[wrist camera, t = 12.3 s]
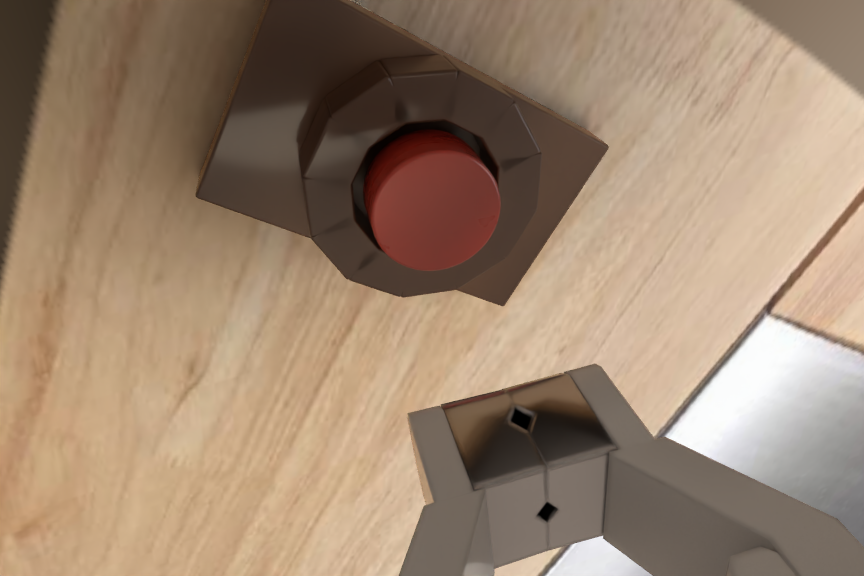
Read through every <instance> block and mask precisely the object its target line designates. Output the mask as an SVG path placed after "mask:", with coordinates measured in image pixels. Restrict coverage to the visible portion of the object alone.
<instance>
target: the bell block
mask: <svg viewBox="0 0 864 576" xmlns="http://www.w3.org/2000/svg"><path fill="white" fill-rule="evenodd" d="M419 130H440V131H444V132H448V133H451V134H453V135H455V136H457V137H459V138H461V139H462V140H463V141H465V142H466V143H467V144H468V145H469V146H470V147H471V148H472V149H473V150H474V151H475V153H476V154H477V155H478V156H479V158H480V159H481V160H482V161H483V163H484V164H485V165H486V167H487V168H488V169H489V170H490V172H491V173H492V175H493V176H494V178H495V180H496V182H497V185H498V188H499V192H500V201H501V206H500V214H499V218H498V222H497V225H496V227H495V230H494V232H493V234H492V235H491V237H490V238H489V240H488V241H487V243H486V244H485V245H484V246H483V247H482V248H481V249H480V250H479V251H478V252H477V253H476V254H475V255H473V256H472V257H471V258H469V259H468V260H466V261H464V262H463V263H461V264H458V265H456V266H454V267H450V268H447V269H443V270H436V271H422V270H415V269H412V268H408V267H406V266H403V265H401V264H399V263H397V262H396V261H394V260H393V259H391V258H390V257H389V256H388V255H387V254H386V253H385V252H384V251H383V250H382V249H381V247H380V246H379V244H378V243H377V241H376V239H375V237H374V233H373V230H372V227H371V224H370V221H369V218H368V215H367V212H366V209H365V205H364V200H363V185H364V180H365V176H366V173H367V171H368V168H369V166H370V164H371V163H372V161H373V159H374V158H375V157H376V155H377V154H378V153H379V152H380V151H381V150H382V149H383V148H384V147H385V146H386V145H387V144H389V143H390V142H391V141H393V140H395V139H396V138H398V137H400V136H402V135H404V134H407V133H410V132H414V131H419ZM608 148H609V147H608V145H607V144H606V143H604V142H603V141H602V140H600V139H599V138H598V137H596V136H595V135H594V134H592V133H591V132H590V131H588V130H586V129H585V128H583V127H581V126H579V125H577V124H575V123H574V122H572V121H570V120H568V119H566V118H565V117H563V116H561V115H559V114H557V113H555V112H554V111H552V110H550V109H548V108H546V107H544V106H543V105H541V104H539V103H537V102H535V101H533V100H532V99H530V98H528V97H526V96H524V95H522V94H521V93H519V92H517V91H515V90H513V89H511V88H510V87H508V86H506V85H504V84H502V83H500V82H499V81H497V80H495V79H493V78H491V77H489V76H488V75H486V74H484V73H482V72H480V71H478V70H477V69H475V68H473V67H471V66H469V65H468V64H466V63H464V62H462V61H460V60H458V59H457V58H455V57H453V56H451V55H449V54H447V53H446V52H444V51H442V50H440V49H438V48H436V47H435V46H433V45H431V44H429V43H427V42H425V41H424V40H422V39H420V38H418V37H416V36H414V35H413V34H411V33H409V32H407V31H405V30H403V29H402V28H400V27H398V26H396V25H394V24H392V23H391V22H389V21H387V20H385V19H383V18H381V17H380V16H378V15H376V14H374V13H372V12H371V11H369V10H367V9H365V8H363V7H361V6H360V5H358V4H356V3H354V2H352V1H350V0H266V2H265V4H264V7H263V10H262V12H261V15H260V17H259V20H258V23H257V25H256V28H255V31H254V33H253V36H252V38H251V41H250V44H249V46H248V49H247V52H246V54H245V57H244V59H243V62H242V65H241V67H240V70H239V73H238V75H237V78H236V80H235V83H234V86H233V88H232V91H231V94H230V96H229V99H228V101H227V104H226V107H225V109H224V112H223V115H222V117H221V120H220V122H219V125H218V128H217V130H216V133H215V136H214V138H213V141H212V143H211V146H210V149H209V151H208V154H207V157H206V159H205V162H204V164H203V167H202V170H201V172H200V175H199V179H198V184H197V189H196V197H197V198H199V199H202V200H204V201H207V202H210V203H213V204H216V205H219V206H221V207H224V208H227V209H230V210H233V211H235V212H238V213H241V214H244V215H247V216H250V217H252V218H255V219H258V220H261V221H264V222H266V223H269V224H272V225H275V226H278V227H281V228H283V229H286V230H289V231H292V232H295V233H297V234H300V235H303V236H306V237H309V238H311V239H312V240H313V241H314V242H315V243H316V245H317V246H318V247H319V248H320V249H321V250H322V251H323V253H324V254H325V255H326V256H327V257H328V258H329V259H330V261H331V262H332V263H333V264H334V265H335V266H336V267H337V269H338V270H339V271H340V272H341V273H342V274H343V275H344V277H345V278H346V279H349V280H351V281H353V282H356V283H359V284H362V285H365V286H368V287H371V288H374V289H377V290H380V291H383V292H386V293H389V294H392V295H395V296H398V297H400V296H401V297H409V296H416V295H423V294H430V293H437V292H444V291H451V290H458V291H461V292H464V293H467V294H469V295H472V296H475V297H478V298H481V299H483V300H486V301H489V302H492V303H495V304H498V305H500V306H504V305H505V304H506V302H507V301H508V299H509V298H510V296H511V295H512V293H513V292H514V290H515V289H516V287H517V286H518V284H519V283H520V281H521V280H522V278H523V277H524V275H525V273H526V272H527V270H528V269H529V267H530V266H531V264H532V263H533V261H534V260H535V258H536V257H537V255H538V254H539V252H540V251H541V249H542V248H543V246H544V245H545V243H546V242H547V240H548V239H549V237H550V236H551V234H552V233H553V231H554V230H555V228H556V227H557V225H558V224H559V222H560V221H561V219H562V218H563V216H564V215H565V213H566V212H567V210H568V209H569V207H570V206H571V204H572V203H573V201H574V200H575V198H576V197H577V195H578V194H579V192H580V191H581V189H582V188H583V186H584V185H585V183H586V181H587V180H588V178H589V177H590V175H591V174H592V172H593V171H594V169H595V168H596V166H597V165H598V163H599V162H600V160H601V159H602V157H603V156H604V154H605V153H606V151H607V150H608Z"/></svg>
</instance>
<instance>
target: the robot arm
mask: <svg viewBox="0 0 864 576" xmlns="http://www.w3.org/2000/svg"><path fill="white" fill-rule="evenodd" d="M407 418H408V424H409V429H410V434H411V439H412V444H413V450H414V455H415V460H416V465H417V469H418V474H419V478H420V483H421V487H422V491H423V496H424V499H425V503H426V505H425V506H424V507H423V510H422V513H421V515H420V518H419V521H418V524H417V527H416V529H415V532H414V535H413V538H412V540H411V543H410V546H409V549H408V551H407V554H406V557H405V560H404V562H403V565H402V568H401V571H400V573H399V576H494V573H495V572H494V569H495V568H498V567H501V566H504V565H507V564H510V563H513V562H516V561H519V560H522V559H524V558H527V557H530V556H533V555H536V554H539V553H542V552H545V551H548V550H552V549H556V548H559V547H563V546H566V545H570V544H574V543H577V542H581V541H585V540H588V539H592V538H595V537H599V536H603V539H605V540H606V541H607V542H609V543H610V544H611V545H613V546H614V547H615V548H617V549H618V550H619V551H621V552H622V553H623V554H625V555H626V556H627V557H629V558H630V559H631V560H633V561H634V562H635V563H637V564H638V565H639V566H641V567H642V568H644V569H645V570H646V571H648V572H649V573H650V574H652V575H653V576H864V547H863V546H862V545H861V544H860V543H859V541H858V540H857V539H856V538H855V537H854V536H853V535H852V534H851V533H850V532H849V531H848V530H847V529H846V527H845V526H844V525H843V524H842V523H841V522H840V521H839V520H838V519H836V518H834V517H832V516H830V515H828V514H826V513H824V512H822V511H820V510H818V509H815V508H813V507H811V506H809V505H807V504H805V503H803V502H801V501H799V500H797V499H794V498H792V497H790V496H788V495H786V494H784V493H782V492H780V491H778V490H776V489H773V488H771V487H769V486H767V485H765V484H763V483H761V482H759V481H757V480H755V479H752V478H750V477H748V476H746V475H744V474H742V473H740V472H738V471H736V470H734V469H731V468H729V467H727V466H725V465H723V464H721V463H719V462H717V461H715V460H713V459H710V458H708V457H706V456H704V455H702V454H700V453H698V452H696V451H694V450H692V449H689V448H687V447H685V446H683V445H681V444H679V443H677V442H675V441H673V440H671V439H668V438H666V437H661V438H657V439H655V438H654V437H653V436H652V434H651V433H650V432H649V430H648V429H647V428H646V426H645V425H644V424H643V422H642V421H641V420H640V418H639V417H638V416H637V414H636V413H635V411H634V410H633V409H632V407H631V406H630V405H629V403H628V402H627V401H626V399H625V398H624V397H623V395H622V394H621V393H620V391H619V390H618V389H617V387H616V386H615V385H614V383H613V382H612V381H611V379H610V378H609V376H608V375H607V374H606V372H605V371H604V370H603V368H602V367H601V366H599V365H597V364H592V365H588V366H584V367H581V368H577V369H573V370H570V371H566V372H564V373H559V374H555V375H552V376H548V377H544V378H541V379H537V380H534V381H530V382H526V383H523V384H519V385H516V386H512V387H508V388H505V389H502V390H499V391H495V392H491V393H487V394H483V395H478V396H474V397H470V398H466V399H462V400H458V401H453V402H449V403H445V404H441V407H440V406H436V407H431V408H427V409H423V410H419V411H415V412H410V413H408V416H407Z"/></svg>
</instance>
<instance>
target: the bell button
mask: <svg viewBox="0 0 864 576" xmlns="http://www.w3.org/2000/svg"><path fill="white" fill-rule="evenodd" d="M363 200H364V205H365V209H366V212H367V215H368V218H369V221H370V224H371V227H372V230H373V233H374V237H375V239H376V241H377V243H378V244H379V246H380V247H381V249H382V250H383V251H384V252H385V253H386V254H387V255H388V256H389V257H390V258H391V259H393V260H394V261H396V262H397V263H399V264H401V265H403V266H406V267H408V268H412V269H415V270H422V271H436V270H443V269H447V268H450V267H454V266H456V265H458V264H461V263H463V262H464V261H466V260H468V259H469V258H471V257H472V256H473V255H475V254H476V253H477V252H478V251H479V250H480V249H481V248H482V247H483V246H484V245H485V244H486V243H487V241H488V240H489V238H490V237H491V235H492V234H493V232H494V230H495V227H496V225H497V222H498V218H499V214H500V206H501V201H500V192H499V188H498V185H497V182H496V180H495V178H494V176H493V175H492V173H491V172H490V170H489V169H488V168H487V167H486V165H485V164H484V163H483V161H482V160H481V159H480V158H479V156H478V155H477V154H476V153H475V151H474V150H473V149H472V148H471V147H470V146H469V145H468V144H467V143H466V142H465V141H463V140H462V139H461V138H459V137H457V136H455V135H453V134H451V133H448V132H444V131H440V130H419V131H414V132H410V133H407V134H404V135H402V136H400V137H398V138H396V139H395V140H393V141H391V142H390V143H389V144H387V145H386V146H385V147H384V148H383V149H382V150H381V151H380V152H379V153H378V154H377V155H376V157H375V158H374V159H373V161H372V163H371V164H370V166H369V168H368V171H367V173H366V176H365V180H364V185H363Z"/></svg>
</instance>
